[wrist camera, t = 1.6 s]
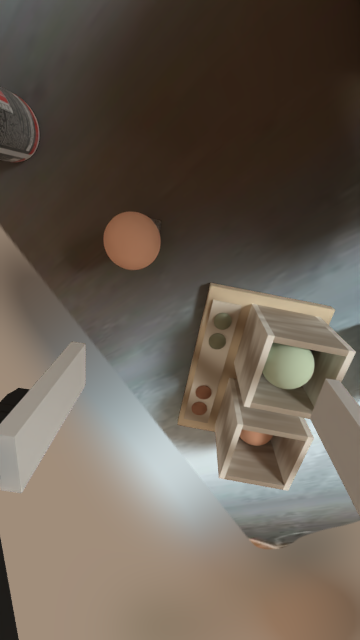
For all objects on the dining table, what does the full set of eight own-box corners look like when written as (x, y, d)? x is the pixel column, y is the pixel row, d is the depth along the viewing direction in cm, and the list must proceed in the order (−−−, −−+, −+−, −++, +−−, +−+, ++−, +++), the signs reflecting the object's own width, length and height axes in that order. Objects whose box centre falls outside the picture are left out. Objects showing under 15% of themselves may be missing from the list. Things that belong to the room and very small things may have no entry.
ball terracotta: (114, 205, 26) (97, 207, 22) (167, 216, 26) (161, 219, 22) (109, 258, 28) (93, 269, 23) (159, 267, 28) (152, 281, 24)
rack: (210, 282, 33) (215, 312, 24) (330, 306, 33) (376, 343, 25) (178, 418, 41) (173, 477, 32) (275, 436, 41) (296, 499, 33)
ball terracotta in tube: (238, 393, 37) (243, 419, 33) (275, 400, 37) (285, 427, 33) (228, 421, 39) (233, 450, 34) (263, 428, 39) (272, 457, 35)
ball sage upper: (268, 331, 30) (264, 332, 26) (318, 343, 29) (323, 347, 24) (257, 375, 31) (251, 384, 26) (305, 390, 29) (308, 402, 24)
